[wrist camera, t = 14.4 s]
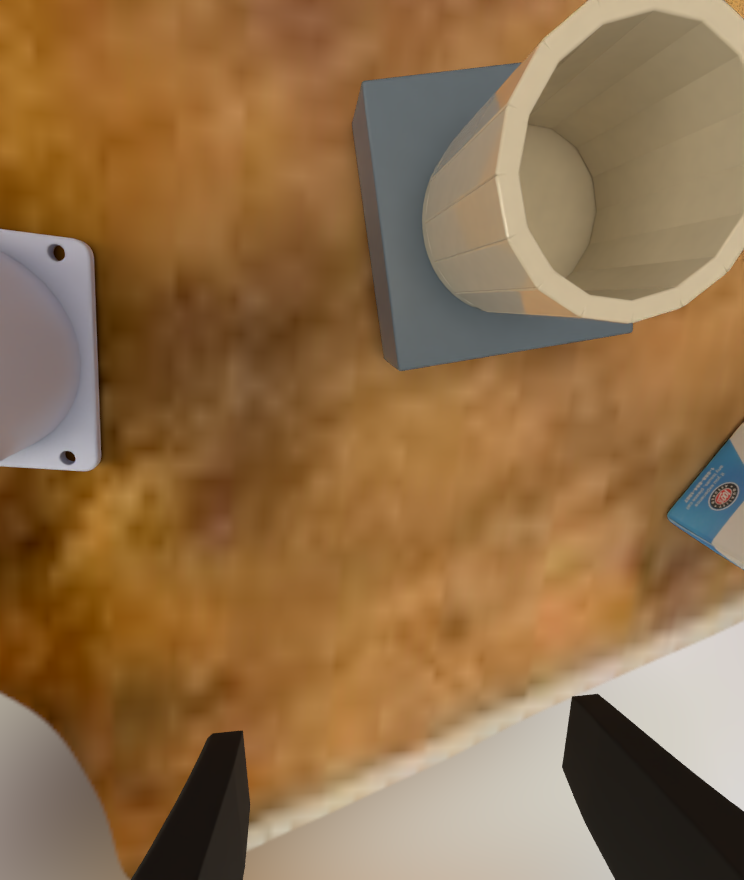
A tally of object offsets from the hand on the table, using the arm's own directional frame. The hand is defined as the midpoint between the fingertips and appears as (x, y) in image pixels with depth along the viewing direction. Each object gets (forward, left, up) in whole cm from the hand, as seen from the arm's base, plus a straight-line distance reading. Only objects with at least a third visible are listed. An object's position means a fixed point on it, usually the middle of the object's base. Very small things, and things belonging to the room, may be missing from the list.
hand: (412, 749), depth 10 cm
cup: (+3, +12, -7) cm, 14 cm away
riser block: (+3, +12, -10) cm, 16 cm away
